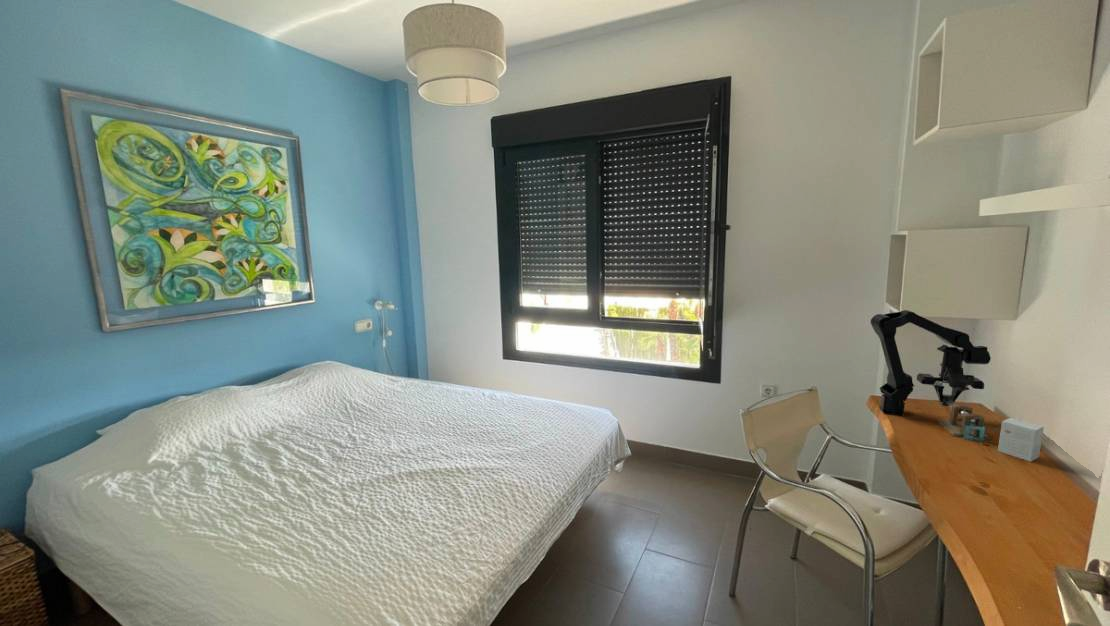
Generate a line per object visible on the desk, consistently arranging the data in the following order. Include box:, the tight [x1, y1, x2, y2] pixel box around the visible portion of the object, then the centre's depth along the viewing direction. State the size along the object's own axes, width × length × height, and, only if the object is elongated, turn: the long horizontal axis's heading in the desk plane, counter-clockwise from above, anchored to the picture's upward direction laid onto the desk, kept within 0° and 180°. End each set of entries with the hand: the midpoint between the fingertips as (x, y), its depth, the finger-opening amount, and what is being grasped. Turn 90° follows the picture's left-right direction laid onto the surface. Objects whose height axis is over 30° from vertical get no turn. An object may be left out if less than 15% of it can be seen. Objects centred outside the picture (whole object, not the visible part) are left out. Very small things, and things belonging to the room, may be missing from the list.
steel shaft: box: [940, 393, 977, 425], centre depth 162 cm, size 3×21×4 cm, turn 159°
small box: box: [997, 417, 1045, 463], centre depth 141 cm, size 8×6×10 cm
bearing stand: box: [937, 404, 991, 441], centre depth 158 cm, size 10×13×8 cm
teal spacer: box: [962, 424, 986, 442], centre depth 152 cm, size 5×1×5 cm, turn 69°
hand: (946, 402), depth 171 cm, fingers closed on steel shaft, 3 cm apart
